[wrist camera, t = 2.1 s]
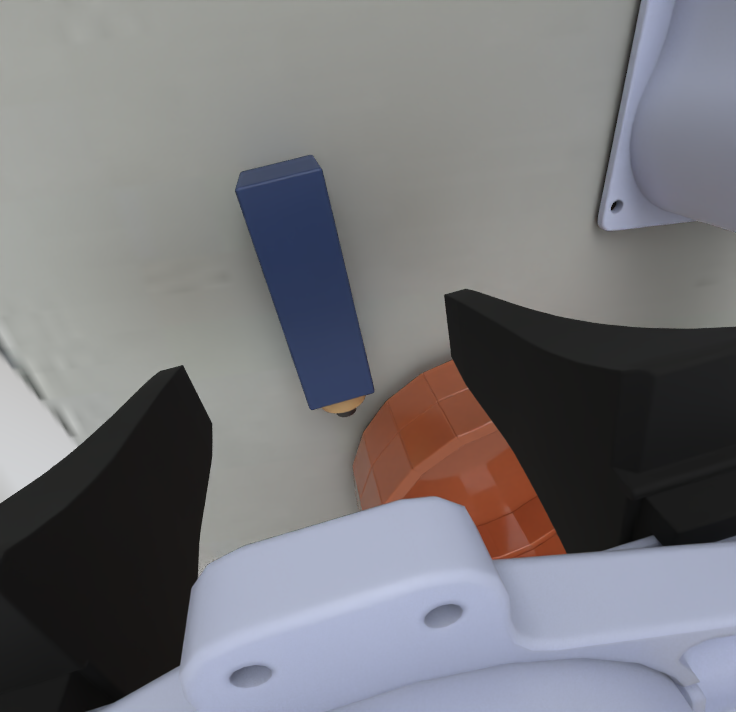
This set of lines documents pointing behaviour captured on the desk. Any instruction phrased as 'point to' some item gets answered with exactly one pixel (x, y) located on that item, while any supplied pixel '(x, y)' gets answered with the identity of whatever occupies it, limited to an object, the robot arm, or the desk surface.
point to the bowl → (452, 464)
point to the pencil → (307, 280)
